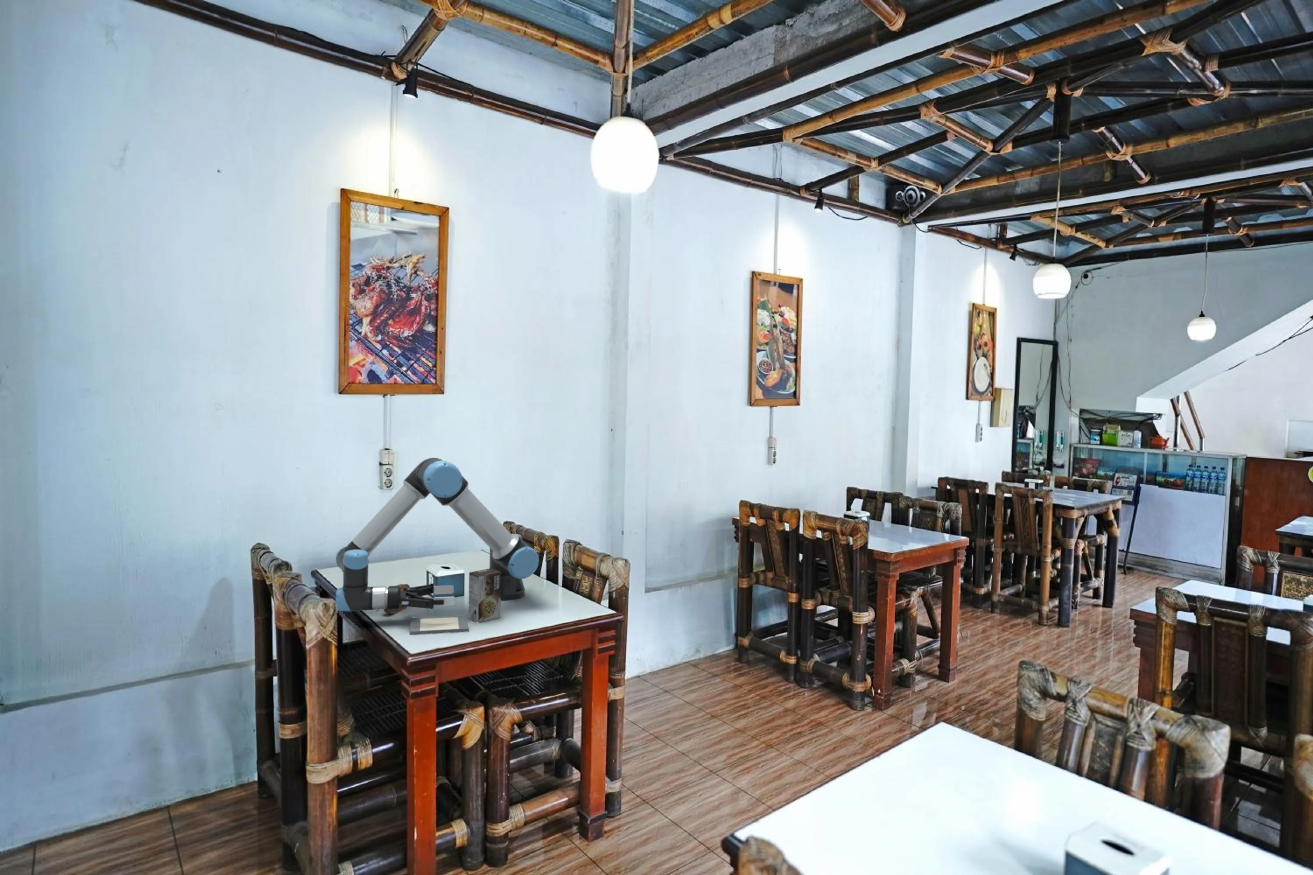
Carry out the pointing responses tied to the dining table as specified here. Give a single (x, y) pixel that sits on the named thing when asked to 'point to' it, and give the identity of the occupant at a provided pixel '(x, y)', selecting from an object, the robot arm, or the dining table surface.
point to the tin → (394, 611)
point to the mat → (438, 624)
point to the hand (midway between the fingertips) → (454, 594)
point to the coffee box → (484, 595)
